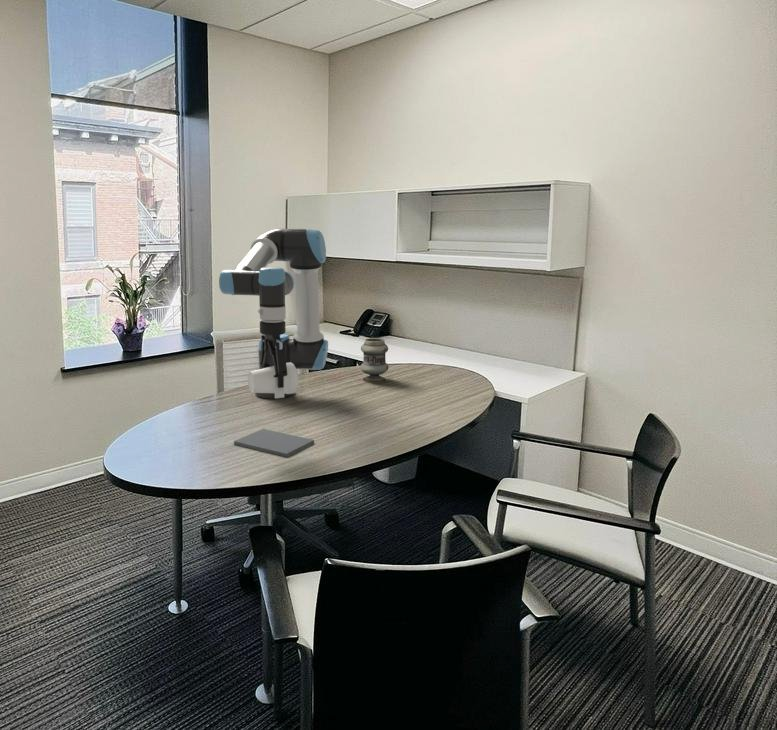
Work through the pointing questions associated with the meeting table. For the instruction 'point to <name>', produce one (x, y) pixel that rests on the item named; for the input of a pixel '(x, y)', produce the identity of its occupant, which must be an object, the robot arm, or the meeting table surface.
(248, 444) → the rubber mat
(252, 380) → the foam cup
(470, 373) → the meeting table surface
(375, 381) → the apothecary jar
